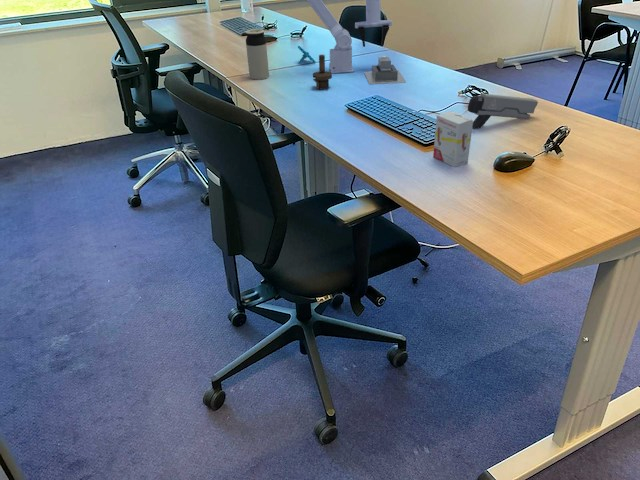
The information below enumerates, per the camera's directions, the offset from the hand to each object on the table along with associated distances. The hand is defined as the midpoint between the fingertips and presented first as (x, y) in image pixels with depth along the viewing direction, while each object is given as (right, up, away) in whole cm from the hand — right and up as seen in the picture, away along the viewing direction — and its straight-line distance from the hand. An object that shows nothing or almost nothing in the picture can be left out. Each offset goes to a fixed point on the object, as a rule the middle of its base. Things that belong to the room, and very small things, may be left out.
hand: (373, 45), depth 211 cm
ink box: (+13, -59, -75) cm, 96 cm away
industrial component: (-20, -22, -15) cm, 33 cm away
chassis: (+4, -15, -7) cm, 17 cm away
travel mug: (-47, -13, +1) cm, 48 cm away
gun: (+34, -44, -53) cm, 77 cm away
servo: (+4, -15, -7) cm, 16 cm away
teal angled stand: (-28, -1, +18) cm, 33 cm away
